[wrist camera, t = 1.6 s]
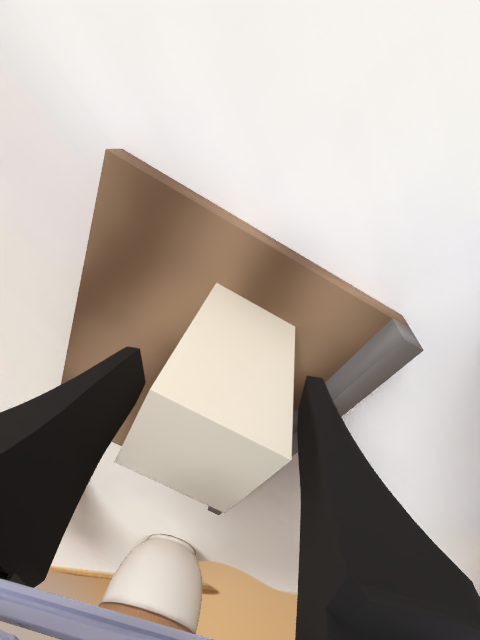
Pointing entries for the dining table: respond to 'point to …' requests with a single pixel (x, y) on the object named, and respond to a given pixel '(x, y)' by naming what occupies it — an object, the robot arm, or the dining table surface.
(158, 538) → the lidded jar
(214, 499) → the carton
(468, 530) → the dining table surface
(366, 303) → the shelf board
